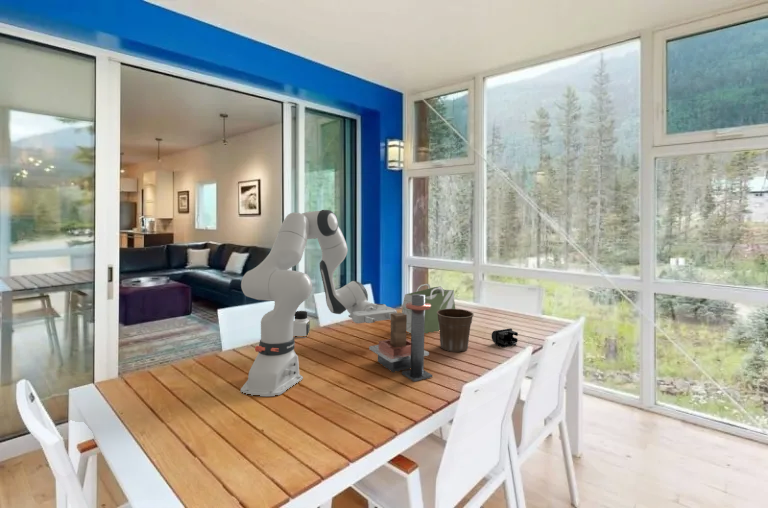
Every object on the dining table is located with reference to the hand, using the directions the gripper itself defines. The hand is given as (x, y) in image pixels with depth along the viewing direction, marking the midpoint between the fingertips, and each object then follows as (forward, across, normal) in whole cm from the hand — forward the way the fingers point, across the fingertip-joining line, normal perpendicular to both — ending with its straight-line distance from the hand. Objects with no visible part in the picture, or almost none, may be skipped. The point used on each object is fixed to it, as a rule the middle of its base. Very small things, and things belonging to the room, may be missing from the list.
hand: (383, 319), depth 168 cm
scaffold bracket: (+17, 0, +15) cm, 23 cm away
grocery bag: (-26, +44, +16) cm, 53 cm away
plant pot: (+6, +33, +16) cm, 37 cm away
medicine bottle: (-44, -21, +16) cm, 51 cm away
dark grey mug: (+13, +58, +16) cm, 61 cm away
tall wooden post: (+12, 0, +9) cm, 15 cm away
